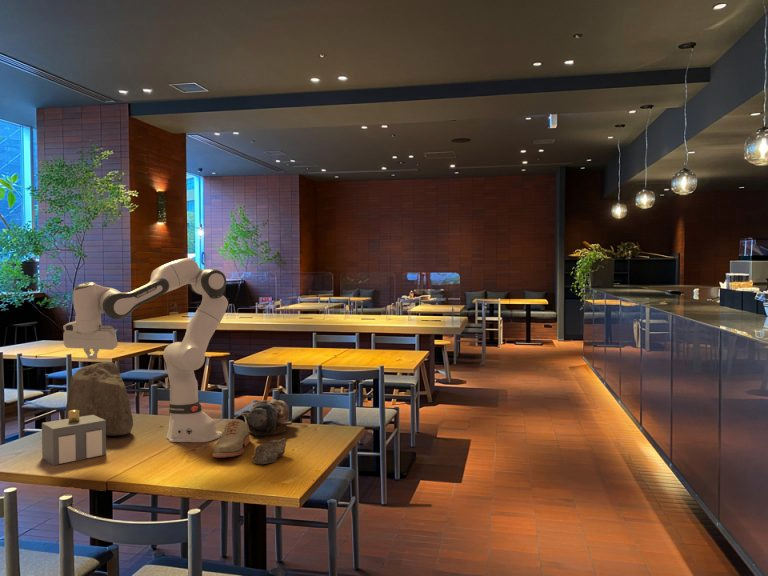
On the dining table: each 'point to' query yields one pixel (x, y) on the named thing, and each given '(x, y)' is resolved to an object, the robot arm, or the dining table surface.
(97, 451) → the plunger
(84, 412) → the stone
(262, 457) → the rock
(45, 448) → the grey cabinet
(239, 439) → the oxford shoe
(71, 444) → the thin beige tile
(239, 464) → the dining table surface
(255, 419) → the sculpture
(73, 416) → the brass dial
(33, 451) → the dining table surface
